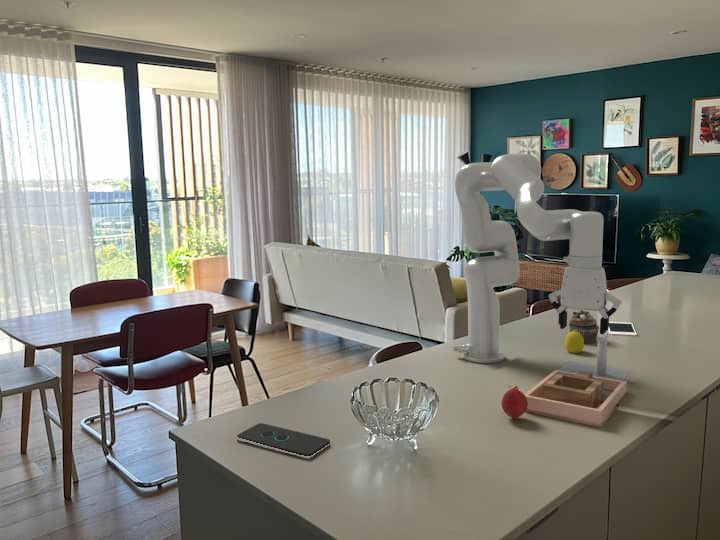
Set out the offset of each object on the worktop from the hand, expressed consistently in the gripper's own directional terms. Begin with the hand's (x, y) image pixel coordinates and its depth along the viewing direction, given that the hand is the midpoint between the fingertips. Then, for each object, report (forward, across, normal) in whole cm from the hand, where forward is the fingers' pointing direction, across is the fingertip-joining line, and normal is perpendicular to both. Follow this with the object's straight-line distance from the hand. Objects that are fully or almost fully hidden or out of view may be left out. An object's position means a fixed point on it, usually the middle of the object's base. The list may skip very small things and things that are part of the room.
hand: (582, 330), depth 147 cm
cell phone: (+18, -8, +74) cm, 77 cm away
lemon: (+18, -12, +34) cm, 40 cm away
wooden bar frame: (+16, +1, -5) cm, 17 cm away
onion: (+17, -8, -23) cm, 30 cm away
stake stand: (+17, -2, +16) cm, 24 cm away
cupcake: (+18, -15, +53) cm, 58 cm away
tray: (+17, +1, -6) cm, 18 cm away
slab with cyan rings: (+18, -45, -61) cm, 78 cm away
